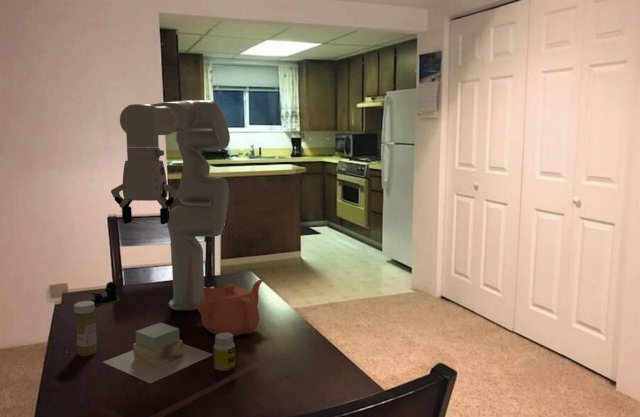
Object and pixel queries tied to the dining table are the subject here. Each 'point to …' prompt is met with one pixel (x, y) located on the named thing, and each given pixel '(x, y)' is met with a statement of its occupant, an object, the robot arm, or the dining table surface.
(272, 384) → the dining table surface
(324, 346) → the dining table surface
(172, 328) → the sage block
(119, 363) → the base plate
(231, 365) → the supplement bottle
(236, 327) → the teapot
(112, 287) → the toy figurine
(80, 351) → the sprinkles bottle
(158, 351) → the birch block
